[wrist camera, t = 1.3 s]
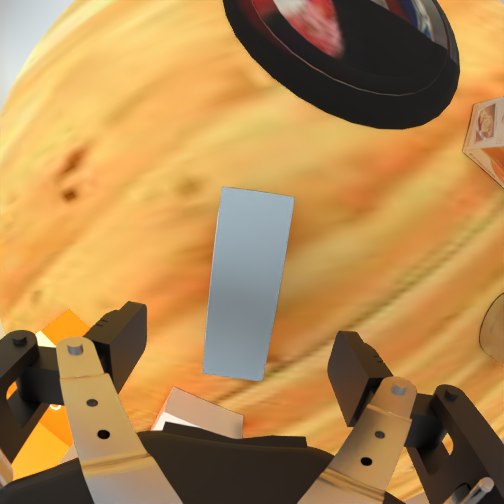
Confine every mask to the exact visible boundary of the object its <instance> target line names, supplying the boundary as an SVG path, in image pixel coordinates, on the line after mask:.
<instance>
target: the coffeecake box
mask: <svg viewBox="0 0 504 504" xmlns="http://www.w3.org/2000/svg"><path fill="white" fill-rule="evenodd" d="M463 152H464V153H465V154H466V155H467V156H468V157H470V158H471V159H472V160H473V161H474V162H475V163H477V164H478V165H479V166H480V167H481V168H482V169H483V170H485V171H486V172H487V173H488V174H489V175H490V176H491V177H492V178H493V179H495V180H496V181H497V182H498V183H499V184H500V185H501V186H502V187H503V188H504V97H500V98H496V99H493V100H489V101H485V102H482V103H478V104H474V107H473V112H472V117H471V122H470V126H469V129H468V133H467V136H466V140H465V144H464V148H463Z"/></svg>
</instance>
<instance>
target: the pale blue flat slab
mask: <svg viewBox="0 0 504 504" xmlns="http://www.w3.org/2000/svg"><path fill="white" fill-rule="evenodd" d="M294 198H295V197H291V196H286V195H281V194H275V193H268V192H261V191H254V190H247V189H239V188H230V187H222V193H221V201H220V208H219V211H218V219H217V227H216V235H215V243H214V252H213V261H212V270H211V279H210V289H209V299H208V309H207V320H206V331H205V342H204V348H205V349H204V362H203V374H208V375H215V376H222V377H229V378H237V379H246V380H255V381H262V380H263V375H264V370H265V365H266V360H267V355H268V350H269V344H270V339H271V334H272V329H273V323H274V318H275V312H276V307H277V301H278V296H279V290H280V285H281V279H282V273H283V267H284V261H285V255H286V249H287V243H288V237H289V231H290V224H291V218H292V212H293V205H294Z"/></svg>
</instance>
